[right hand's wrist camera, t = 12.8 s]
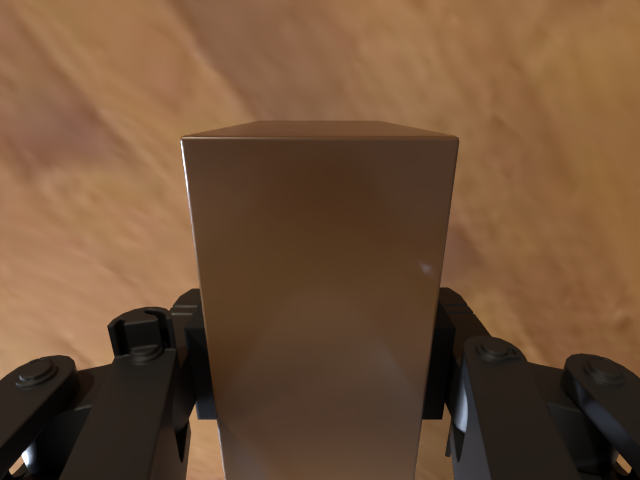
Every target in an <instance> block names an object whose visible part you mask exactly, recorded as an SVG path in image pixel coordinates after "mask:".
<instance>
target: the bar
mask: <svg viewBox="0 0 640 480" xmlns="http://www.w3.org/2000/svg"><path fill="white" fill-rule="evenodd" d="M180 142H181V150H182V157H183V165H184V172H185V180H186V188H187V195H188V203H189V211H190V218H191V226H192V234H193V241H194V249H195V257H196V264H197V272H198V279H199V287H200V295H201V302H202V310H203V318H204V325H205V333H206V341H207V348H208V356H209V364H210V371H211V379H212V386H213V394H214V402H215V409H216V417H217V425H218V432H219V440H220V448H221V455H222V463H223V471H224V478H225V480H414V477H415V469H416V462H417V454H418V447H419V439H420V432H421V424H422V417H423V409H424V402H425V394H426V387H427V379H428V372H429V364H430V357H431V349H432V342H433V334H434V327H435V319H436V312H437V304H438V297H439V289H440V282H441V274H442V267H443V259H444V252H445V244H446V237H447V229H448V222H449V214H450V207H451V199H452V192H453V184H454V177H455V169H456V162H457V154H458V147H459V138H458V137H456V136H453V135H448V134H443V133H438V132H433V131H428V130H422V129H417V128H412V127H407V126H402V125H397V124H392V123H387V122H382V121H256V122H251V123H246V124H241V125H236V126H231V127H226V128H221V129H216V130H210V131H205V132H200V133H195V134H190V135H185V136H183V137H181V140H180Z"/></svg>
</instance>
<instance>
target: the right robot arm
mask: <svg viewBox="0 0 640 480" xmlns="http://www.w3.org/2000/svg"><path fill="white" fill-rule="evenodd" d="M107 327H108V331H109V335H110V340H111V344H112V348H113V352H114V356H115V358H114V360H113V362H112V364H108V365H104V366H100V367H95V368H90V369H85V370H80V371H77V369H76V366H75V362H74V360H73V359H71V358H70V357H68V356H62V355H56V356H47V357H42V358H40V359H35V360H32V361H30V362H29V363H26V364H24V365H22V366H20V367H18V368H16V369H15V370H14V371H12V372H11V373H9V374H8V375H6V376H5V377H4V378H3V379H1V380H0V480H186V472H187V464H188V455H189V447H190V438H191V430H190V423H189V417H190V414H191V412H192V410H193V407H194V405H195V404H196V410H197V417H198V419H217V417H216V409H215V402H214V394H213V386H212V379H211V371H210V364H209V356H208V348H207V341H206V333H205V325H204V318H203V310H202V302H201V295H200V289H191V290H189V291H188V292H186V293H185V294H183V295H181V296H180V297H179V298H178V300H177V301H176V302H175V304H174V305H173V308H171V309H170V310H169V311H168V310H167V309H165V308H161V307H144V308H139V309H134V310H131V311H129V312H126V313H123V314H122V315H120V316H118V317H117V318H115V319H113V320H112V321H111V323H110V324H109V325H108V326H107ZM445 403H446V405H447V408H448V410H449V413H450V415H451V423H450V429H449V435H448V441H447V447H446V454H445V456H447V457H450V454H452V463H453V472H454V480H640V378H639V377H638V376H636V375H635V374H634V373H632V372H631V371H630V370H628V369H627V368H625V367H624V366H622V365H620V364H618V363H616V362H613V361H611V360H610V359H607V358H604V357H600V356H597V355H590V354H575V355H571V356H570V357H568V358H567V359H566V362H565V366H564V369H558V368H553V367H548V366H543V365H538V364H534V363H530V362H527V360H526V357H525V356H524V355H523V353H522V352H521V351H520V350H519V349H518V348H517V347H515V346H514V345H512V344H511V343H509V342H507V341H504V340H502V339H500V338H495V337H492V336H491V335H490V334H489V332H488V331H487V330H486V329H485V327H484V326H483V325H482V323H481V322H480V321H479V319H478V318H477V317H476V315H475V314H473V311H472V310H471V309H470V307H469V306H467V303H466V302H465V301H464V299H463V298H462V297H461V295H459V294H457V293H456V292H454V291H453V290H451V289H450V288H440V289H439V297H438V304H437V312H436V319H435V327H434V334H433V342H432V349H431V357H430V364H429V372H428V379H427V387H426V394H425V402H424V409H423V417H422V419H442V417H443V410H444V404H445ZM619 454H620V455H621V456H622V457H623V458H624V459H625V460H626V462H627V463H628V464H629V465H630V466H631V467H632V470H631V472H630V473H627V472H626V471H625V470H624V469H623V468H622V467H621V466H620V465H619V463H618V462H617V461H616V460H617V457H618V455H619ZM21 455H22V457H23V460H24V463H23V464H22V466H21V467H20V468H19V469H18V470H17V471H16V472H15V473H14V474H12V475H11V474H10V472H9V469H10V468H11V467H12V465H13V464H14V463H15V462H16V461H17V460H18V458H19V457H20V456H21Z"/></svg>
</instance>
